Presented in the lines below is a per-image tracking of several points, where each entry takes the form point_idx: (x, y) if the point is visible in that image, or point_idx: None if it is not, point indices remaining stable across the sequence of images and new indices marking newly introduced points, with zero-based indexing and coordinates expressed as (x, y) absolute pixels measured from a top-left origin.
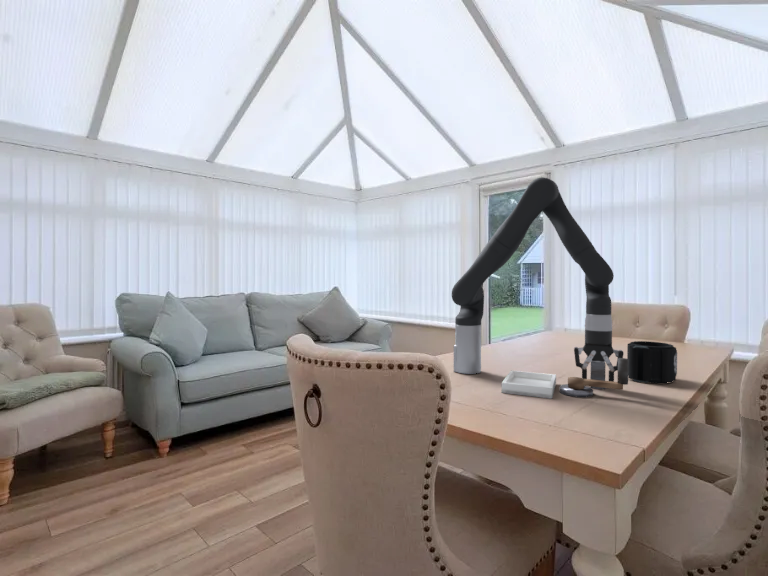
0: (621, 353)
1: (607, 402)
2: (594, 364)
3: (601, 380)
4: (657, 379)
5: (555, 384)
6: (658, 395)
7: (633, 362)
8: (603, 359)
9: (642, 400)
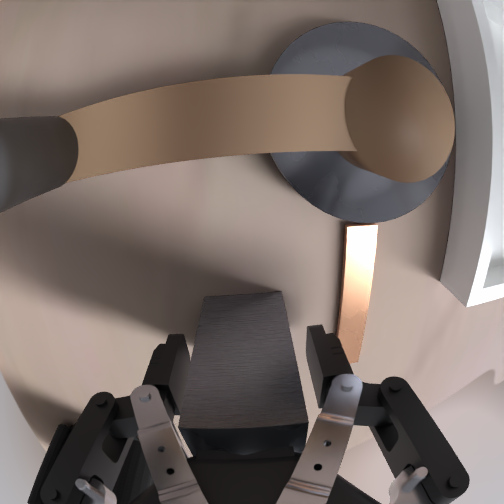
0: (50, 490)
1: (175, 10)
2: (273, 411)
3: (197, 156)
4: None
5: (450, 248)
6: (17, 292)
7: (124, 491)
8: (197, 467)
9: None
